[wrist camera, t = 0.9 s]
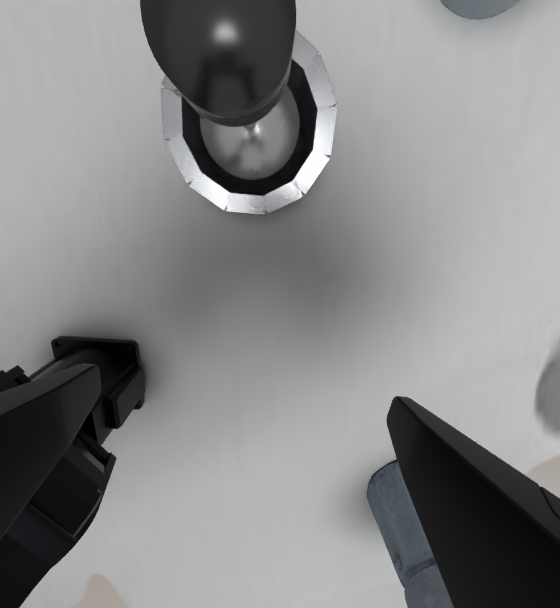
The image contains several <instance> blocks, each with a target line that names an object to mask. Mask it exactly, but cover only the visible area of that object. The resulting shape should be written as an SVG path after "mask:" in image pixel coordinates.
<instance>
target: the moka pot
mask: <svg viewBox="0 0 560 608" xmlns="http://www.w3.org/2000/svg"><path fill="white" fill-rule="evenodd" d="M367 498H368V501H369V504H370V506H371V509H372V512H373V514H374V517H375V519H376V522H377V524H378V526H379V529H380V531H381V534H382V536H383V539H384V542H385V544H386V547H387V550H388V552H389V554H390V557H391V560H392V562H393V565H394V568H395V570H396V572H397V575H398V577H399V580H400V582H401V584H402V585H403V587H404V588H405V599H406V603H407V607H408V608H454V607H453V605H452V602H451V600H450V597H449V594H448V592H447V589H446V587H445V584H444V582H443V579H442V577H441V574H440V571H439V569H438V566H437V564H436V561H435V559H434V556H433V554H432V551H431V549H430V546H429V543H428V541H427V538H426V536H425V533H424V531H423V528H422V526H421V523H420V520H419V518H418V515H417V513H416V510H415V508H414V505H413V503H412V500H411V498H410V495H409V492H408V490H407V487H406V485H405V482H404V479H403V477H402V474H401V471H400V468H399V465H398V462H394V463H392V464H389V465H387V466H385V467H384V468H383V469H381V470H379V471H378V472H377V473H376V474H375V475H374V476H373V478H372V479H371V481H370V483H369V486H368V492H367Z"/></svg>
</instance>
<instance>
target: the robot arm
mask: <svg viewBox="0 0 560 608" xmlns="http://www.w3.org/2000/svg"><path fill="white" fill-rule="evenodd" d="M59 342H60V343H61V345H60V344H59ZM51 345H52V349H53V353H54V358H55V359H53V360H52V361H51V362H49V363H48V364H46V365H45V366H43V367H42V368H40V369H39V370H38V371H36V372H35V373H33V374H32V375H30V376H29V377H27V376H26V375H25V374H24V373H23V372H25V371H24V370H23V369H21V368H20V367H19V366H18V365H17V366H15V367H14V368H12V369H10V370H9V371H7V372H6V373H5V372H4V371H3V370H2V371H0V608H19V607H20V606H21V604H22V603H23V602H24V601H25V599H26V598H27V597H28V595H29V594H30V593H31V591H32V590H33V589H34V588H35V586H36V585H37V584H38V583H39V582H40V580H41V579H42V578H43V577H44V576H45V575H46V573H47V572H48V571H49V570H50V569H51V568H52V567H53V566H54V565H56V564H57V563H58V562H59V561H60V560H61V559H62V558H63V557H64V556H65V555H66V554H67V553H68V552H69V551H70V550H71V549H72V548H73V547H74V546H75V545H76V543H77V542H78V541H79V540H80V538H81V537H82V536H83V535H84V533H85V532H86V530H87V529H88V527H89V526H90V524H91V523H92V521H93V519H94V518H95V516H96V514H97V511H98V509H99V507H100V504H101V501H102V498H103V495H104V492H105V490H106V487H107V484H108V481H109V478H110V475H111V473H112V470H113V467H114V464H115V461H116V457H115V456H114V455H113V454H112V453H108V452H107V451H106V450H105V449H104V448H103V447H102V446H101V445H102V444H103V442H104V441H105V440H106V438H107V437H108V435H109V434H110V433H111V431H112V430H113V429H118V428H120V427H121V426H122V424H123V423H124V422H125V420H126V419H127V417H128V416H129V414H130V413H131V411H132V410H133V409H140V408H141V407H142V406H143V404H144V398H143V394H144V393H145V388H144V379H143V369H142V367H141V366H140V360H139V350H138V345H137V344H136V343H135V342H133V341H123V340H107V339H91V338H75V337H57V338H55V339H54V340H52V342H51ZM129 346H131V347H132V349H130V348H129ZM137 403H138V404H137ZM387 426H388V430H389V433H390V437H391V440H392V444H393V447H394V451H395V454H396V458H397V461H398V465H399V468H400V471H401V474H402V477H403V479H404V482H405V485H406V487H407V490H408V492H409V495H410V498H411V500H412V503H413V505H414V508H415V510H416V513H417V515H418V518H419V520H420V523H421V526H422V528H423V531H424V533H425V536H426V538H427V541H428V543H429V546H430V549H431V551H432V554H433V556H434V559H435V561H436V564H437V566H438V569H439V571H440V574H441V577H442V579H443V582H444V584H445V587H446V589H447V592H448V594H449V597H450V600H451V602H452V605H453V607H454V608H560V498H558V497H556V496H555V495H554V494H552V493H550V492H549V491H548V490H546V489H545V488H543V487H539V485H538V484H537V483H535V482H534V481H532V480H531V479H530V478H528V477H527V476H525V475H524V474H522V473H521V472H519V471H518V470H516V469H515V468H513V467H512V466H510V465H509V464H507V463H506V462H504V461H503V460H501V459H500V458H498V457H497V456H495V455H494V454H492V453H491V452H489V451H488V450H486V449H485V448H483V447H482V446H480V445H479V444H477V443H476V442H474V441H473V440H471V439H470V438H468V437H467V436H465V435H464V434H462V433H461V432H459V431H458V430H456V429H455V428H454V427H452V426H451V425H449V424H448V423H446V422H445V421H443V420H442V419H440V418H439V417H437V416H436V415H434V414H433V413H431V412H430V411H428V410H427V409H425V408H424V407H422V406H421V405H419V404H418V403H416V402H415V401H413V400H412V399H410V398H408V397H401V396H396V397H394V398H393V400H392V403H391V406H390V409H389V412H388V415H387Z"/></svg>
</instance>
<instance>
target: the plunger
mask: <svg viewBox="0 0 560 608" xmlns="http://www.w3.org/2000/svg"><path fill="white" fill-rule="evenodd" d="M140 7H141V15H142V22H143V26H144V31H145V34H146V37H147V41H148V44H149V46H150V48H151V51H152V53H153V55H154V57H155V59H156V61H157V62H158V64H159V66H160V68H161V69H162V70H163V72H164V73H165V75H166V76H167V77H168V78H169V80H170V81H171V82H172V83H173V85H174V86H175V87H176V88H177V89H178V91H179V92H180V93H181V94H182V96H183V97H184V98H185V99H186V100H187V102H188V103H189V104H190V105H191V106H192V107H193V108H194V110H196V111H197V112H198V113H199V114H200V126H201V132H202V137H203V140H204V143H205V145H206V148H207V150H208V151H209V153H210V155H211V156H212V158H213V159H214V160H215V162H216V163H217V164H218V165H219V166H220V167H222V168H223V169H224V170H225V171H227V172H228V173H230V174H231V175H233V176H235V177H238V178H241V179H245V180H260V179H264V178H267V177H270V176H272V175H273V174H275V173H277V172H278V171H279V170H280V169H282V168H283V167H284V165H285V164H286V163H287V162H288V160H289V159H290V157H291V155H292V154H293V151H294V149H295V146H296V143H297V140H298V135H299V113H298V108H297V104H296V101H295V99H294V96H293V94H292V92H291V91H290V89H289V87H288V86H287V82H288V78H289V74H290V67H291V60H292V52H293V44H294V36H295V28H296V3H295V0H140Z"/></svg>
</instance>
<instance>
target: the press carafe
mask: <svg viewBox="0 0 560 608" xmlns="http://www.w3.org/2000/svg"><path fill="white" fill-rule="evenodd" d="M317 53H318V50H317V49H316V48H315V47H314V46H313V45H312V44H311V43H310V42H309V41H308V40H307V39H305V38H304V37H303V36H302V35H301V34H300V33H299V32H298V31H297V30H296V29H295V36H294V44H293V52H292V60H291V67H290V74H289V78H288V82H287V86H288V87H289V89H290V91H291V92H292V94H293V96H294V99H295V101H296V104H297V108H298V113H299V135H298V140H297V143H296V146H295V149H294V151H293V154H292V155H291V157H290V159H289V160H288V162H287V163H286V164H285V165H284V167H283V168H282V169H280V170H279V171H278V172H277V173H275V174H273V175H272V176H270V177H267V178H264V179H260V180H245V179H241V178H238V177H235V176H233V175H231V174H230V173H228V172H227V171H225V170H224V169H223V168H222V167H220V166H219V165H218V164H217V163H216V162H215V160H214V159H213V158H212V156H211V155H210V153H209V151H208V150H207V148H206V145H205V143H204V140H203V137H202V132H201V126H200V114H199V113H198V112H197V111H196V110H194V108H193V107H192V106H191V105H190V104H189V103H188V102H187V100H186V99H185V98H184V97H183V96H182V94H181V93H180V92H179V91H178V89H177V88H176V87H175V86H174V85H173V83H172V82H171V81H170V80H169V78H168V77H167V76H166V75H165V77H164V79H163V82H162V85H163V86H164V87H165V88H161V100H162V119H163V137H164V139H165V140H167V141H166V142H165V144H166V146H167V148H168V149H169V151H170V153H171V155H172V157H173V159H174V160H175V162H176V164H177V166H178V168H179V170H180V172H181V173H182V175H183V177H184V179H185V181H186V183H187V184H190V187H191V188H193V189H194V190H195V191H197V192H198V193H200V194H201V195H203V196H204V197H205V198H207V199H208V200H210V201H211V202H213V203H214V204H215V205H217V206H218V207H220V208H221V209H223V210H227V211H229V212H240V213H251V214H263V215H265V214H266V213H268V214H269V213H271V212H273V211H275V210H277V209H279V208H281V207H283V206H285V205H287V204H289V203H291V202H293V201H295V200H297V199H299V198H301V197H303V195H305V194H306V193H307V191H308V190H309V188H310V187H311V186H312V184H313V183H314V181H315V180H316V178H317V177H318V175H319V174H320V172H321V171H322V169H323V168H324V166H325V165H326V163H327V162H328V160H329V158H328V157H329V156H331V150H332V143H333V135H334V128H335V120H336V112H337V107H335V105H336V104H337V102H336V99H335V96H334V93H333V90H332V87H331V84H330V81H329V78H328V75H327V72H326V69H325V66H324V63H323V60H322V57H321V54H320V55H318V56H317Z"/></svg>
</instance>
